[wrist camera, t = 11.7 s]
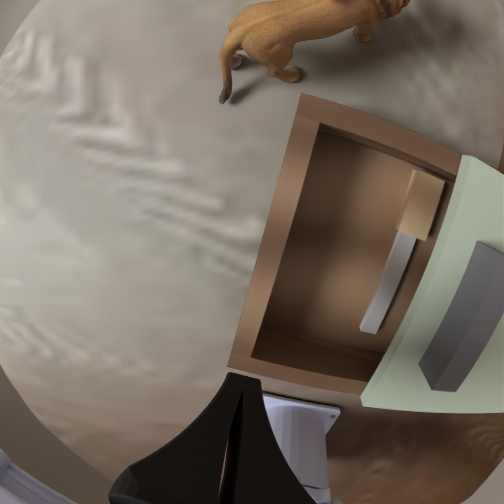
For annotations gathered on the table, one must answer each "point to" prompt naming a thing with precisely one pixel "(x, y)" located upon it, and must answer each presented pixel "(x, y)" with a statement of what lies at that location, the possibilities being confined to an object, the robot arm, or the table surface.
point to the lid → (454, 311)
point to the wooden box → (342, 247)
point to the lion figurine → (295, 31)
